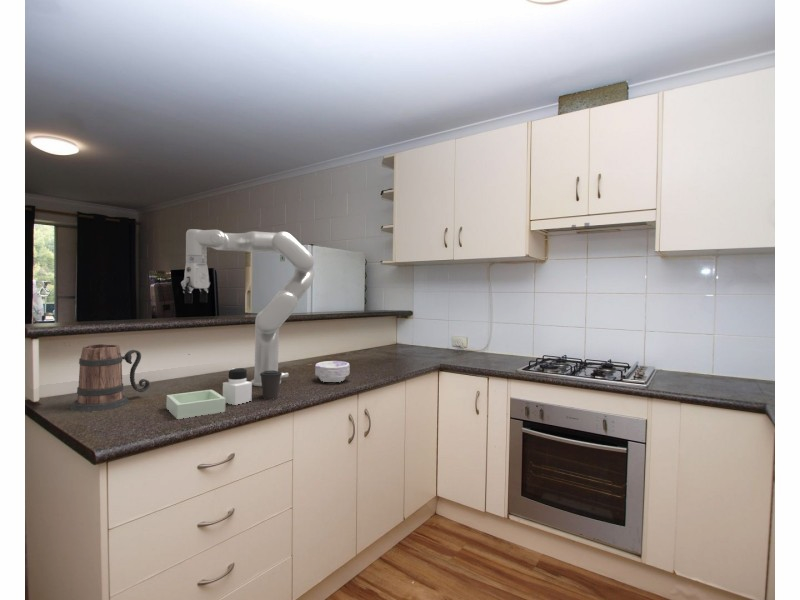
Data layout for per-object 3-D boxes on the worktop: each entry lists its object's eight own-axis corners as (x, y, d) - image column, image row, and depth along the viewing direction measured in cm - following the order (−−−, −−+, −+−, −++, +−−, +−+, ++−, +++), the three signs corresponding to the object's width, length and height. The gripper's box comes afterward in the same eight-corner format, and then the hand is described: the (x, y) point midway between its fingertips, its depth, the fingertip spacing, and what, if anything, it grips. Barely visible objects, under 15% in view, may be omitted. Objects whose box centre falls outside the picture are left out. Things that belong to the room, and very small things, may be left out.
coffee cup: (258, 395, 163) (258, 369, 162) (280, 394, 166) (280, 368, 165) (260, 401, 155) (260, 374, 155) (283, 399, 158) (283, 372, 158)
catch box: (211, 402, 152) (211, 389, 152) (225, 411, 141) (225, 398, 141) (166, 408, 143) (166, 395, 143) (177, 419, 132) (177, 405, 132)
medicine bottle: (251, 401, 155) (252, 368, 154) (234, 406, 149) (235, 371, 148) (239, 398, 158) (239, 366, 158) (222, 402, 152) (222, 368, 152)
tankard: (79, 415, 133) (79, 351, 133) (61, 405, 143) (62, 345, 143) (158, 401, 152) (159, 344, 151) (138, 392, 162) (139, 340, 161)
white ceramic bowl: (307, 382, 188) (308, 364, 188) (328, 376, 202) (329, 359, 202) (335, 386, 181) (336, 368, 181) (355, 380, 195) (356, 362, 195)
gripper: (191, 259, 164) (191, 303, 164) (217, 261, 181) (216, 302, 182) (173, 259, 165) (173, 303, 166) (200, 261, 182) (200, 301, 183)
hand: (196, 302), depth 174 cm, fingers open, 9 cm apart
